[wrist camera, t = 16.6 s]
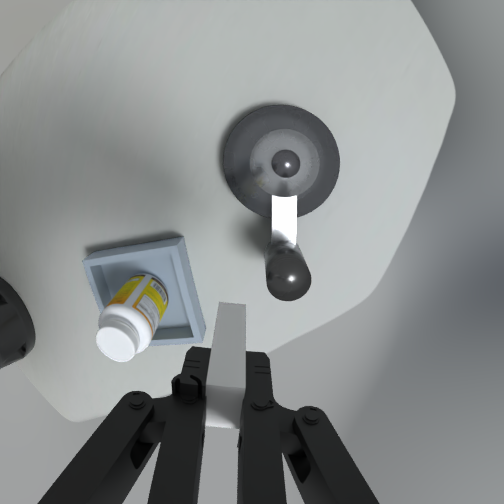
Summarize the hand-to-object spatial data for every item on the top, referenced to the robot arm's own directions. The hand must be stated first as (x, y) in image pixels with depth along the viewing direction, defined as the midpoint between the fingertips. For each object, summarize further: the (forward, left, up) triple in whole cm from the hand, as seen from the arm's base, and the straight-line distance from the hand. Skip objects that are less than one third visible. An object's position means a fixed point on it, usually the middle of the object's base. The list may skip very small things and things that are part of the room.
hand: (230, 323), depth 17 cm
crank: (+5, +4, -13) cm, 15 cm away
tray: (-12, -4, -16) cm, 20 cm away
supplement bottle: (-12, -4, -15) cm, 20 cm away
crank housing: (+5, +8, -16) cm, 18 cm away
